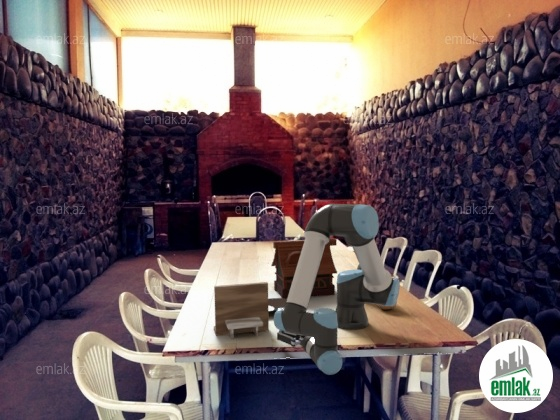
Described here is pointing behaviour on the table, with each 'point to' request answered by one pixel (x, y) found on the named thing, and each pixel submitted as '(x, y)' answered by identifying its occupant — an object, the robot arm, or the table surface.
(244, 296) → the cleat board
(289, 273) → the house
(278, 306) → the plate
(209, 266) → the table surface
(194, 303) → the table surface
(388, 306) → the onion
